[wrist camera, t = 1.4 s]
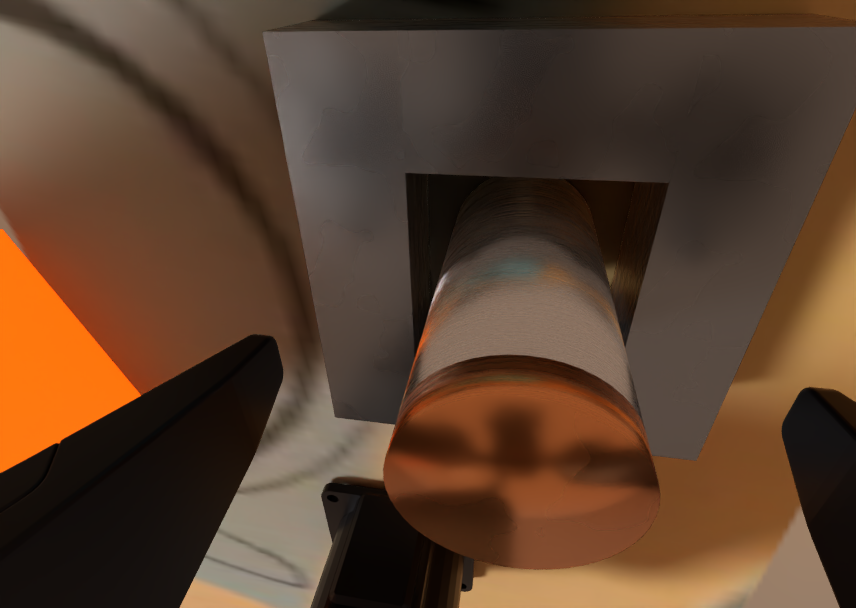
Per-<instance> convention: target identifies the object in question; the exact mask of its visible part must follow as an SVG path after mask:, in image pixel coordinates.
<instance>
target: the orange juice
mask: <svg viewBox="0 0 856 608" xmlns="http://www.w3.org/2000/svg"><path fill="white" fill-rule="evenodd" d="M140 396H141V395H140V394H139V392H138V391H137V390H136V389H135V388H134V386H133V385H132V384H131V383H130V382H129V380H128V379H127V378H126V377H125V376H124V374H123V373H122V372H121V371H120V370H119V368H118V367H117V366H116V365H115V364H114V362H113V361H112V360H111V359H110V358H109V356H108V355H107V354H106V353H105V352H104V350H103V349H102V348H101V347H100V346H99V344H98V343H97V342H96V341H95V340H94V338H93V337H92V336H91V335H90V334H89V332H88V331H87V330H86V329H85V328H84V326H83V325H82V324H81V323H80V322H79V320H78V319H77V318H76V317H75V316H74V314H73V313H72V312H71V311H70V310H69V308H68V307H67V306H66V305H65V304H64V302H63V301H62V300H61V299H60V298H59V296H58V295H57V294H56V293H55V292H54V290H53V289H52V288H51V287H50V286H49V284H48V283H47V282H46V281H45V280H44V278H43V277H42V276H41V275H40V274H39V272H38V271H37V270H36V269H35V268H34V266H33V265H32V264H31V263H30V262H29V260H28V259H27V258H26V257H25V256H24V254H23V253H22V252H21V251H20V250H19V248H18V247H17V246H16V245H15V244H14V242H13V241H12V240H11V239H10V238H9V237H8V235H7V234H6V233H5V232H4V230H3V229H0V473H1V472H3V471H5V470H7V469H9V468H11V467H12V466H14V465H16V464H18V463H20V462H22V461H24V460H25V459H27V458H29V457H31V456H33V455H35V454H36V453H38V452H40V451H42V450H44V449H45V448H47V447H49V446H51V445H53V444H54V443H60V441H61V440H62V439H64V438H65V437H67V436H69V435H71V434H73V433H74V432H76V431H78V430H80V429H82V428H84V427H85V426H87V425H89V424H91V423H93V422H94V421H96V420H98V419H100V418H102V417H103V416H105V415H107V414H109V413H111V412H112V411H114V410H116V409H118V408H120V407H121V406H123V405H125V404H127V403H129V402H130V401H132V400H134V399H136V398H138V397H140Z"/></svg>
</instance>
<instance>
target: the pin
mask: <svg viewBox="0 0 856 608" xmlns="http://www.w3.org/2000/svg"><path fill="white" fill-rule="evenodd" d="M383 472H384V483H385V487H386V491H387V493H388V495H389V498H390V500H391V501H392V503H393V505H394V506H395V508H396V509H397V511H398V512H399V513H400V514H401V515H402V517H403V518H404V519H405V520H406V521H407V522H408V523H409V524H410V525H411V526H412V527H414V528H415V529H416V530H417V531H419V532H420V533H421V534H423V535H424V536H426V537H427V538H429V539H430V540H432V541H433V542H435V543H437V544H439V545H441V546H443V547H445V548H447V549H449V550H451V551H453V552H456V553H458V554H460V555H463V556H466V557H469V558H472V559H475V560H479V561H482V562H486V563H490V564H495V565H500V566H505V567H513V568H522V569H560V568H570V567H576V566H582V565H586V564H590V563H594V562H597V561H600V560H603V559H606V558H609V557H611V556H613V555H615V554H617V553H620V552H622V551H623V550H625V549H626V548H628V547H630V546H631V545H633V544H634V543H635V542H636V541H638V540H639V539H640V538H641V537H642V536H643V535H644V534H645V533H646V532H647V530H648V529H649V528H650V527H651V525H652V523H653V522H654V520H655V518H656V516H657V512H658V509H659V506H660V489H659V484H658V479H657V475H656V471H655V467H654V463H653V459H652V455H651V451H650V447H649V443H648V439H647V435H646V431H645V427H644V423H643V419H642V415H641V411H640V407H639V403H638V399H637V395H636V390H635V386H634V382H633V378H632V374H631V370H630V366H629V362H628V358H627V354H626V350H625V346H624V342H623V338H622V334H621V330H620V326H619V322H618V318H617V314H616V310H615V306H614V302H613V298H612V294H611V290H610V286H609V282H608V278H607V274H606V270H605V266H604V262H603V258H602V254H601V250H600V246H599V242H598V238H597V234H596V230H595V226H594V222H593V218H592V214H591V211H590V209H589V206H588V204H587V203H586V201H585V199H584V198H583V197H582V195H581V194H580V193H579V192H578V191H577V190H576V189H575V188H574V187H573V186H572V185H571V184H569V183H568V182H567V181H565V180H563V179H552V178H526V177H499V176H494V177H492V178H490V179H488V180H487V181H485V182H483V183H482V184H481V185H479V186H478V187H477V188H476V189H475V190H474V191H473V192H472V193H471V194H470V195H469V196H468V197H467V199H466V200H465V201H464V203H463V205H462V207H461V208H460V211H459V213H458V216H457V219H456V222H455V226H454V229H453V233H452V236H451V239H450V243H449V246H448V249H447V253H446V256H445V259H444V263H443V266H442V269H441V273H440V276H439V280H438V283H437V286H436V290H435V293H434V296H433V300H432V303H431V306H430V310H429V313H428V316H427V320H426V323H425V327H424V330H423V333H422V337H421V340H420V343H419V347H418V350H417V353H416V357H415V360H414V364H413V367H412V370H411V374H410V377H409V380H408V384H407V387H406V390H405V394H404V397H403V400H402V404H401V407H400V411H399V414H398V417H397V421H396V424H395V427H394V431H393V434H392V437H391V441H390V444H389V448H388V451H387V454H386V458H385V463H384V468H383Z"/></svg>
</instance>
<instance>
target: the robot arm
mask: <svg viewBox="0 0 856 608" xmlns="http://www.w3.org/2000/svg"><path fill="white" fill-rule="evenodd" d="M282 380H283V366H282V362H281V358H280V354H279V350H278V346H277V343H276V340H275V339H274V338H273V337H272V336H267V335H256V334H255V335H250V336H248V337H246V338H244V339H242V340H241V341H239V342H237V343H235V344H233V345H232V346H230V347H228V348H226V349H224V350H223V351H221V352H219V353H217V354H215V355H214V356H212V357H210V358H208V359H206V360H205V361H203V362H201V363H199V364H197V365H196V366H194V367H192V368H190V369H188V370H187V371H185V372H183V373H181V374H179V375H177V376H176V377H174V378H172V379H170V380H168V381H167V382H165V383H163V384H161V385H159V386H158V387H156V388H154V389H152V390H150V391H149V392H147V393H145V394H143V395H141V396H140V397H138V398H136V399H134V400H132V401H130V402H129V403H127V404H125V405H123V406H121V407H120V408H118V409H116V410H114V411H112V412H111V413H109V414H107V415H105V416H103V417H102V418H100V419H98V420H96V421H94V422H93V423H91V424H89V425H87V426H85V427H84V428H82V429H80V430H78V431H76V432H74V433H73V434H71V435H69V436H67V437H65V438H64V439H62V440H61V441H60V443H54V444H53V445H51V446H49V447H47V448H45V449H44V450H42V451H40V452H38V453H36V454H35V455H33V456H31V457H29V458H27V459H25V460H24V461H22V462H20V463H18V464H16V465H14V466H12V467H11V468H9V469H7V470H5V471H3V472H1V473H0V608H179V607H180V605H181V603H182V601H183V599H184V597H185V595H186V593H187V591H188V589H189V587H190V585H191V583H192V581H193V579H194V577H195V575H196V573H197V571H198V569H199V567H200V565H201V563H202V561H203V559H204V557H205V555H206V553H207V551H208V549H209V547H210V545H211V543H212V541H213V539H214V537H215V535H216V533H217V531H218V528H219V526H220V524H221V522H222V520H223V518H224V516H225V514H226V512H227V510H228V508H229V506H230V504H231V502H232V500H233V498H234V496H235V494H236V492H237V490H238V488H239V486H240V484H241V482H242V480H243V478H244V476H245V474H246V472H247V470H248V468H249V466H250V464H251V462H252V459H253V457H254V455H255V453H256V451H257V448H258V446H259V443H260V441H261V438H262V435H263V432H264V430H265V427H266V424H267V421H268V419H269V416H270V413H271V410H272V408H273V405H274V402H275V399H276V397H277V394H278V391H279V388H280V386H281V383H282ZM782 438H783V442H784V445H785V449H786V452H787V456H788V460H789V463H790V467H791V471H792V474H793V478H794V481H795V485H796V489H797V492H798V496H799V500H800V503H801V507H802V510H803V514H804V517H805V520H806V523H807V526H808V529H809V532H810V534H811V537H812V540H813V542H814V544H815V547H816V550H817V552H818V555H819V557H820V560H821V562H822V565H823V567H824V570H825V572H826V575H827V577H828V579H829V582H830V585H831V587H832V589H833V592H834V594H835V597H836V600H837V602H838V605H839V607H840V608H856V402H855V401H853V400H851V399H850V398H848V397H847V396H845V395H844V394H842V393H840V392H839V391H836V390H833V389H824V388H814V387H808V388H805V389H803V390H802V391H801V392H800V393H799V395H798V396H797V398H796V400H795V402H794V403H793V405H792V407H791V409H790V410H789V412H788V414H787V416H786V417H785V419H784V421H783V424H782ZM321 497H322V501H323V506H324V510H325V514H326V518H327V522H328V526H329V530H330V534H331V538H332V542H333V544H332V547H331V550H330V553H329V556H328V558H327V561H326V564H325V567H324V570H323V573H322V576H321V579H320V582H319V585H318V587H317V590H316V593H315V596H314V599H313V602H312V605H311V608H459V602H460V593H461V591H464V592H466V591H470V590H471V589H472V585H473V572H474V559H472V558H469V557H466V556H463V555H460V554H458V553H456V552H453V551H451V550H449V549H447V548H445V547H443V546H441V545H439V544H437V543H435V542H433V541H432V540H430V539H429V538H427V537H426V536H424V535H423V534H421V533H420V532H419V531H417V530H416V529H415V528H414V527H412V526H411V525H410V524H409V523H408V522H407V521H406V520H405V519H404V518H403V517H402V515H401V514H400V513H399V512H398V511H397V509H396V508H395V506H394V505H393V503H392V501H391V500H390V498H389V495H388V493H387V491H386V490H380V489H373V488H366V487H359V486H352V485H345V484H338V483H328V484H326V485H325V487H324V489H323V492H322V495H321Z"/></svg>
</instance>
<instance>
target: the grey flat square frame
mask: <svg viewBox="0 0 856 608" xmlns="http://www.w3.org/2000/svg"><path fill="white" fill-rule="evenodd" d="M263 37H264V42H265V48H266V53H267V58H268V64H269V69H270V74H271V80H272V85H273V90H274V95H275V101H276V106H277V111H278V117H279V122H280V127H281V133H282V138H283V143H284V148H285V154H286V159H287V164H288V170H289V175H290V180H291V186H292V191H293V196H294V202H295V207H296V212H297V217H298V223H299V228H300V233H301V239H302V244H303V249H304V255H305V260H306V265H307V270H308V276H309V281H310V286H311V292H312V297H313V302H314V308H315V313H316V318H317V323H318V329H319V334H320V339H321V345H322V350H323V355H324V361H325V366H326V371H327V377H328V382H329V387H330V392H331V398H332V403H333V408H334V414H335V417H337V418H345V419H354V420H362V421H370V422H379V423H387V424H396V421H397V417H398V414H399V411H400V407H401V404H402V400H403V397H404V394H405V390H406V387H407V384H408V380H409V377H410V374H411V370H412V367H413V364H414V360H415V357H416V353H417V350H418V347H419V343H420V340H421V337H422V333H423V330H424V327H425V323H426V320H427V316H428V313H429V310H430V306H431V293H430V250H429V208H428V174H447V175H473V176H499V177H526V178H552V179H579V180H605V181H632V182H635V185H634V189H633V194H632V198H631V202H630V207H629V211H628V216H627V220H626V225H625V229H624V233H623V238H622V242H621V247H620V251H619V256H618V260H617V264H616V269H615V273H614V278H613V282H612V286H611V294H612V298H613V302H614V306H615V310H616V314H617V318H618V322H619V326H620V330H621V334H622V338H623V342H624V346H625V350H626V354H627V358H628V362H629V366H630V370H631V374H632V378H633V382H634V386H635V390H636V395H637V399H638V403H639V407H640V411H641V415H642V419H643V423H644V427H645V431H646V435H647V439H648V443H649V447H650V451H651V455H653V456H661V457H669V458H678V459H686V460H694V461H696V460H697V458H698V456H699V454H700V452H701V449H702V447H703V445H704V443H705V441H706V438H707V436H708V434H709V432H710V429H711V427H712V425H713V423H714V421H715V418H716V416H717V414H718V412H719V410H720V407H721V405H722V403H723V401H724V399H725V396H726V394H727V392H728V390H729V387H730V385H731V383H732V381H733V379H734V376H735V374H736V372H737V370H738V368H739V365H740V363H741V361H742V359H743V356H744V354H745V352H746V350H747V348H748V345H749V343H750V341H751V339H752V337H753V334H754V332H755V330H756V328H757V325H758V323H759V321H760V319H761V317H762V314H763V312H764V310H765V308H766V306H767V303H768V301H769V299H770V297H771V294H772V292H773V290H774V288H775V286H776V283H777V281H778V279H779V277H780V275H781V272H782V270H783V268H784V266H785V263H786V261H787V259H788V257H789V255H790V252H791V250H792V248H793V246H794V244H795V241H796V239H797V237H798V235H799V233H800V230H801V228H802V226H803V224H804V221H805V219H806V217H807V215H808V213H809V210H810V208H811V206H812V204H813V202H814V199H815V197H816V195H817V193H818V190H819V188H820V186H821V184H822V182H823V179H824V177H825V175H826V173H827V171H828V168H829V166H830V164H831V162H832V159H833V157H834V155H835V153H836V151H837V148H838V146H839V144H840V142H841V140H842V137H843V135H844V133H845V131H846V128H847V126H848V124H849V122H850V120H851V117H852V115H853V113H854V111H855V109H856V21H855V20H848V19H842V18H836V17H829V16H823V15H816V14H769V15H688V16H607V17H527V18H446V19H365V20H312V21H307V22H303V23H299V24H294V25H290V26H286V27H281V28H277V29H273V30H268V31H264V32H263Z"/></svg>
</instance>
